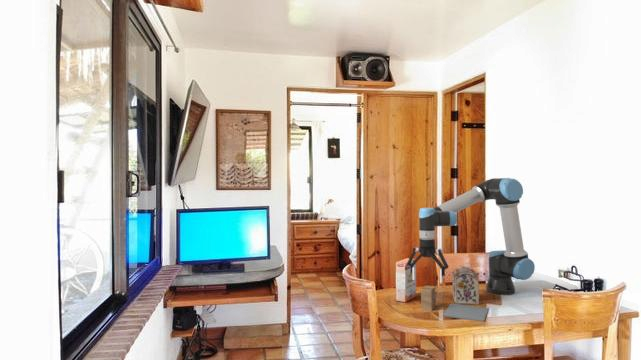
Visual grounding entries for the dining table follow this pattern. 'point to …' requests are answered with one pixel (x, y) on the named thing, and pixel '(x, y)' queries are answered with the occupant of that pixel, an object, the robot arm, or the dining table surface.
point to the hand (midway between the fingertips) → (427, 281)
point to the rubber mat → (466, 312)
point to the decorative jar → (465, 286)
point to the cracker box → (405, 281)
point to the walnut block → (428, 298)
